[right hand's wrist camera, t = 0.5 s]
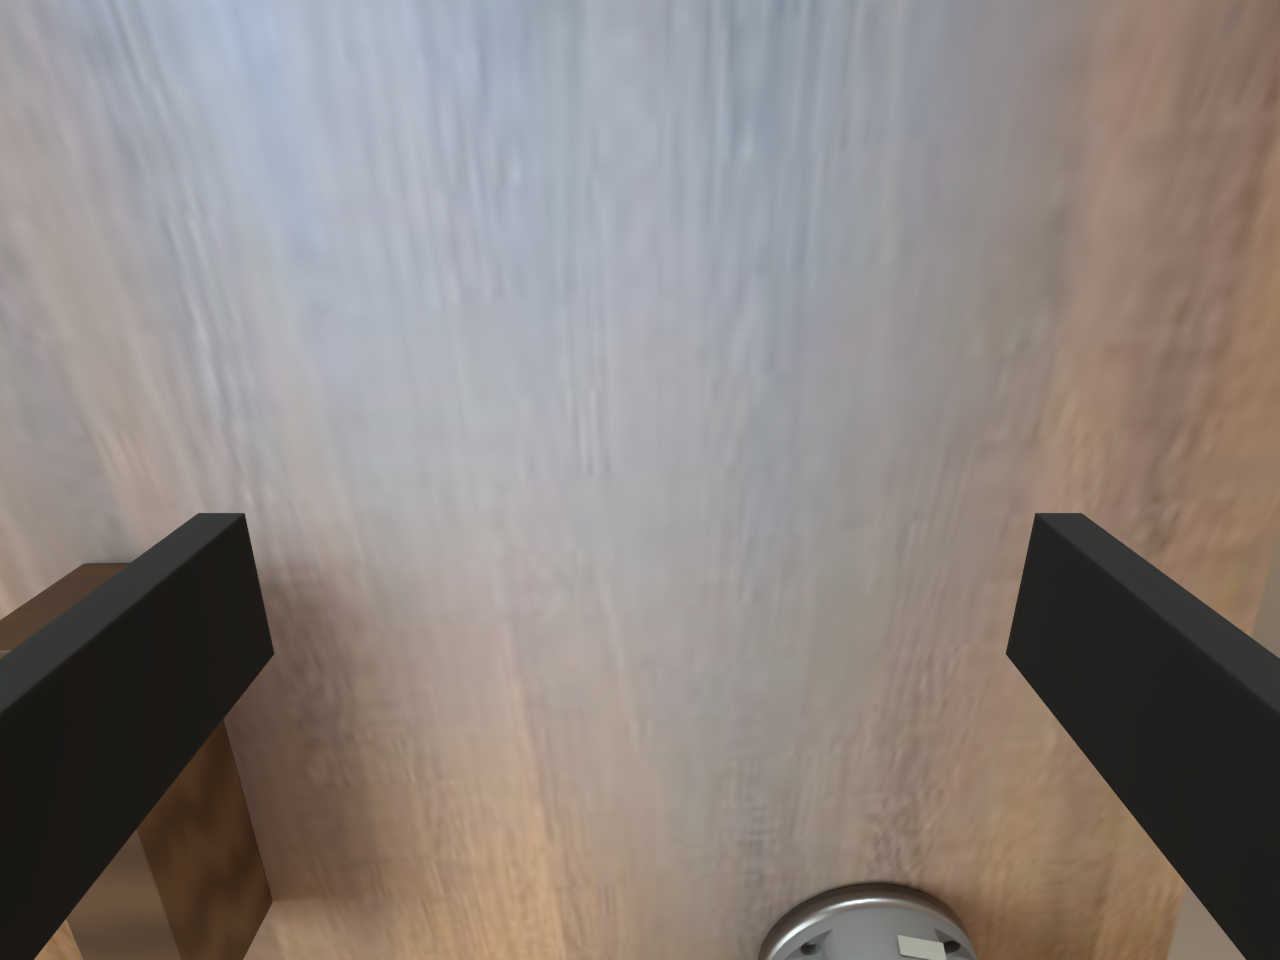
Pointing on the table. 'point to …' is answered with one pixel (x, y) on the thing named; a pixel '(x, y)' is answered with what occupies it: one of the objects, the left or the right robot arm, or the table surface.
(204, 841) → the bar
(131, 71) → the table surface
